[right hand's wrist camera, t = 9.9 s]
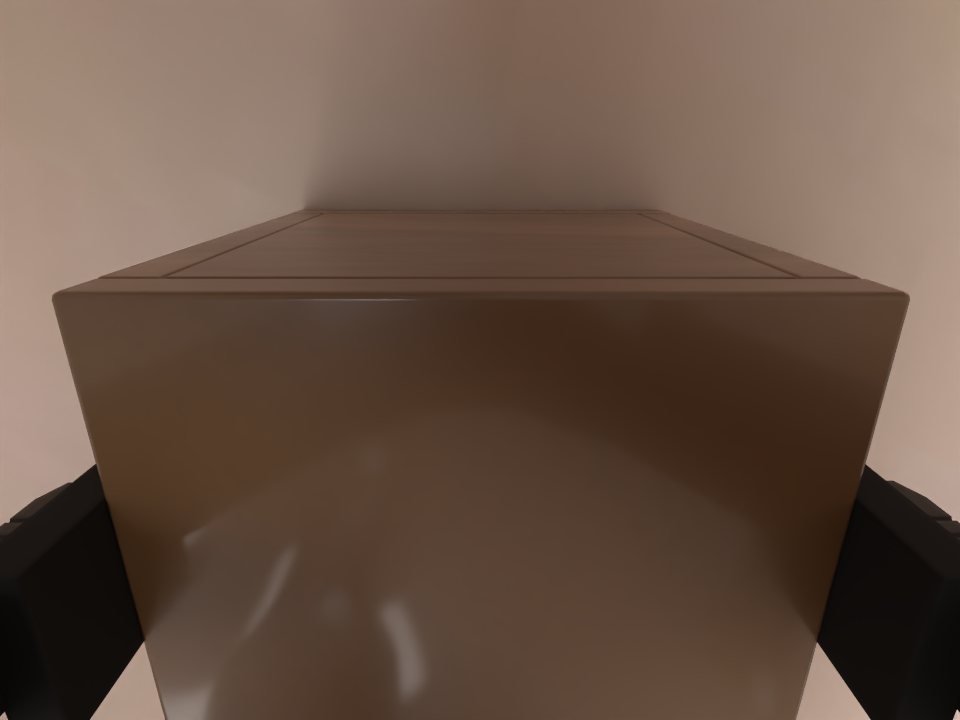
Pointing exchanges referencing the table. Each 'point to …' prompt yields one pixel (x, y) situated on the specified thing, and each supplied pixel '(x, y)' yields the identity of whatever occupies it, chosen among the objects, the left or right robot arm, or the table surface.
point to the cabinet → (480, 463)
